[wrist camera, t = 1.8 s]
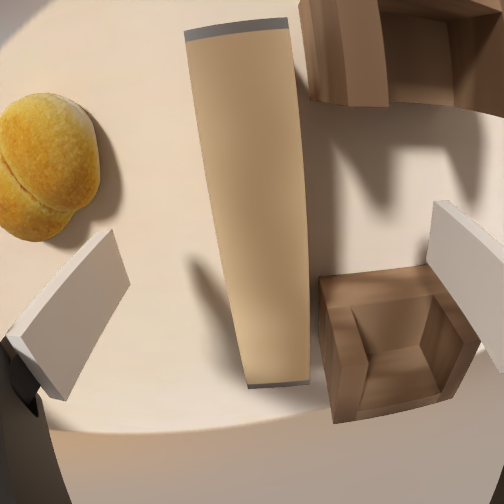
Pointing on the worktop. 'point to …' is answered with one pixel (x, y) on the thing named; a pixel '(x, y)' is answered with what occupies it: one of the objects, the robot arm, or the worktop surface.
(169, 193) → the worktop surface
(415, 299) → the post
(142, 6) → the worktop surface
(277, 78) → the rail
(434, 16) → the post
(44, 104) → the bread roll
